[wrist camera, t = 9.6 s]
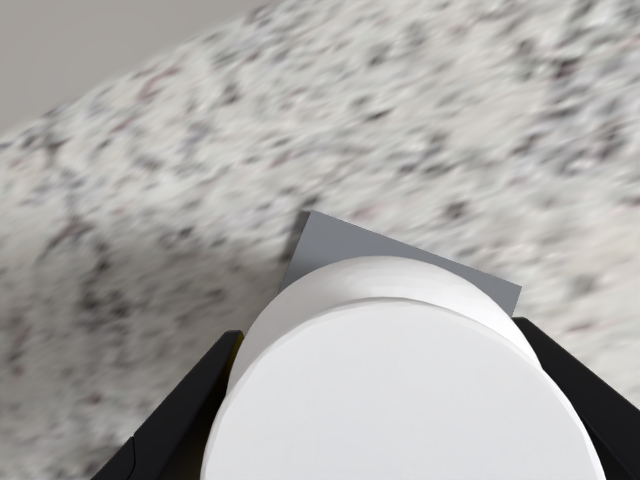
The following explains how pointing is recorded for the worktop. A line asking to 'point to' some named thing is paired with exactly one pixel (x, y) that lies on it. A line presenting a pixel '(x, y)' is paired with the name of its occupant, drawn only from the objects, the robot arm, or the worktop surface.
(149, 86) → the worktop surface
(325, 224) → the slate coaster
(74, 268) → the worktop surface
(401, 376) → the supplement bottle
